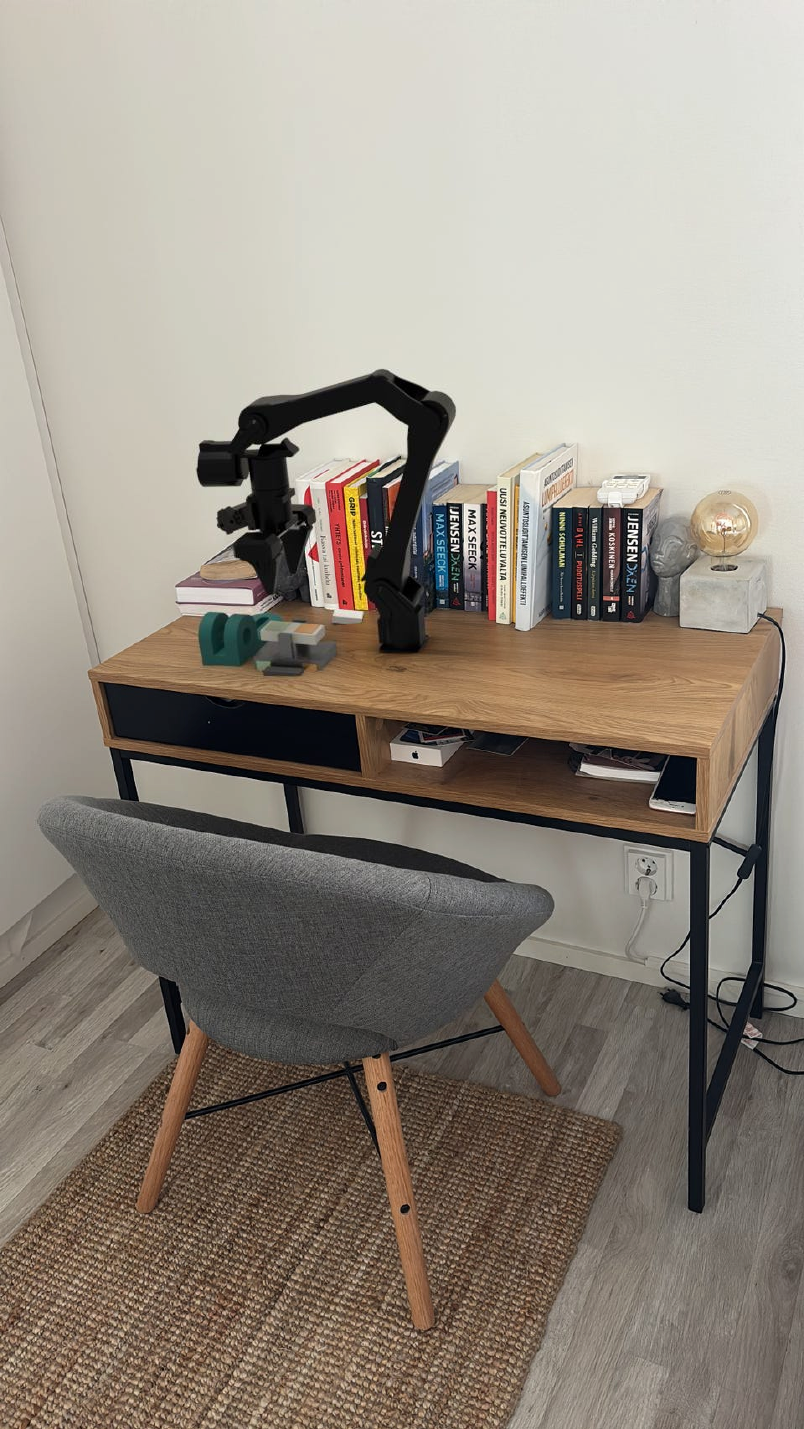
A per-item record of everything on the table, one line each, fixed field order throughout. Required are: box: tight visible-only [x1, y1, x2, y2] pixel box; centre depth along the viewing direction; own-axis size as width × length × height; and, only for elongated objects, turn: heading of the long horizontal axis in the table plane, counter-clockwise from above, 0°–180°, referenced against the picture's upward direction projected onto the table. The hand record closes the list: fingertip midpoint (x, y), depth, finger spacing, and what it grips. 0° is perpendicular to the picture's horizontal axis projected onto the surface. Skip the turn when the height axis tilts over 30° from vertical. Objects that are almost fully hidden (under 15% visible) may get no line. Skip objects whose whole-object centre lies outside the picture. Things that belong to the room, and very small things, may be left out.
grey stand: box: [252, 617, 338, 672], centre depth 178 cm, size 11×7×7 cm, turn 72°
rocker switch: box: [260, 621, 326, 645], centre depth 177 cm, size 9×5×2 cm, turn 73°
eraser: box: [331, 608, 364, 625], centre depth 194 cm, size 1×5×4 cm
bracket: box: [197, 611, 283, 667], centre depth 187 cm, size 18×7×8 cm, turn 159°
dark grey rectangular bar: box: [262, 666, 305, 677], centre depth 175 cm, size 6×2×2 cm, turn 73°
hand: (282, 583), depth 180 cm, fingers open, 9 cm apart
